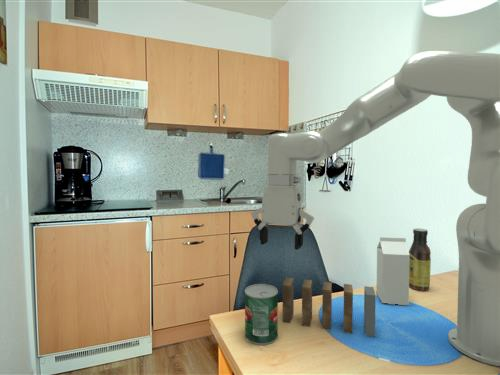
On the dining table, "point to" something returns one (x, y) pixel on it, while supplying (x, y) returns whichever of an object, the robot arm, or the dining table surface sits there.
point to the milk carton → (393, 271)
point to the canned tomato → (261, 314)
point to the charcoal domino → (369, 311)
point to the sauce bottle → (419, 261)
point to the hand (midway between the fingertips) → (280, 245)
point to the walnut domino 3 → (326, 305)
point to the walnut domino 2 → (307, 303)
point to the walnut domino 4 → (348, 308)
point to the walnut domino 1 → (288, 300)
